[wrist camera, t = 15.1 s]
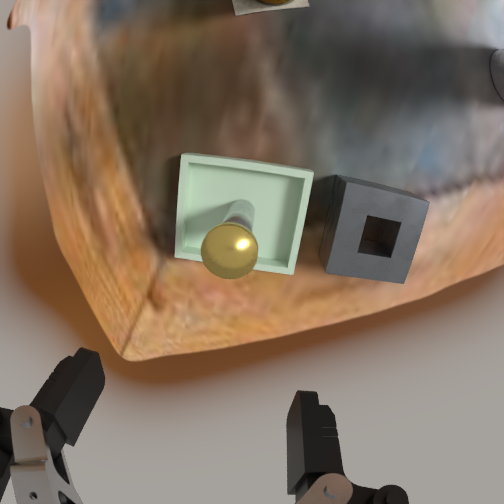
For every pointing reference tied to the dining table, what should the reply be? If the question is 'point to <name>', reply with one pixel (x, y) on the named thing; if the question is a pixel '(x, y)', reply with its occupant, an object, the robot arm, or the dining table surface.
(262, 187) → the tray
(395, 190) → the socket block
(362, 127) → the dining table surface
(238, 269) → the pin
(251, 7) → the condiment
